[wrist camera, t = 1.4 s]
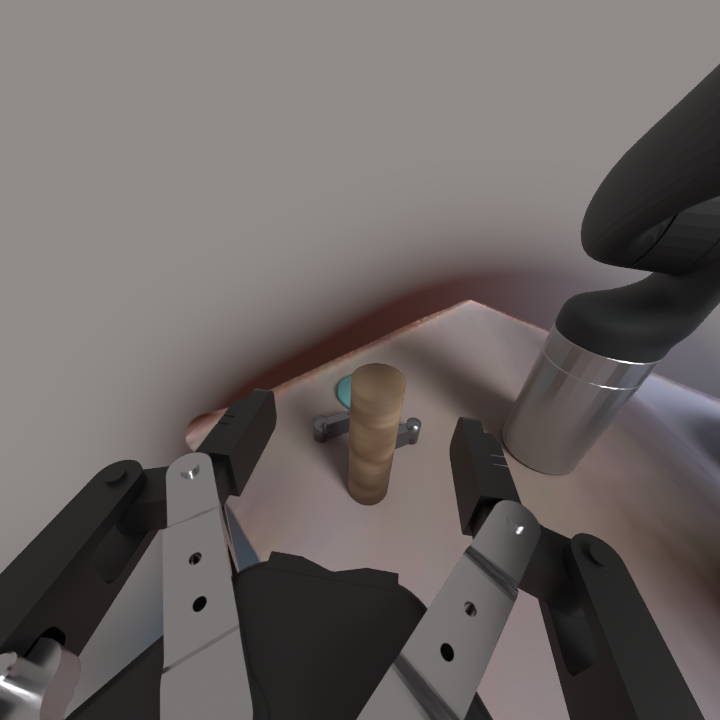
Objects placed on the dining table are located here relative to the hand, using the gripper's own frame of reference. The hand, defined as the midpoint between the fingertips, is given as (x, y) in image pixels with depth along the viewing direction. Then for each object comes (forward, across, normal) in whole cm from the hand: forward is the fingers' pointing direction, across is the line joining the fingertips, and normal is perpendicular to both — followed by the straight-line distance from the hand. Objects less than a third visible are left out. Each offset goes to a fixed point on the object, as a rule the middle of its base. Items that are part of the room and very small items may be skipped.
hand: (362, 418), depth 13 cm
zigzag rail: (+19, 0, +21) cm, 28 cm away
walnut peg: (+12, -1, +21) cm, 24 cm away
